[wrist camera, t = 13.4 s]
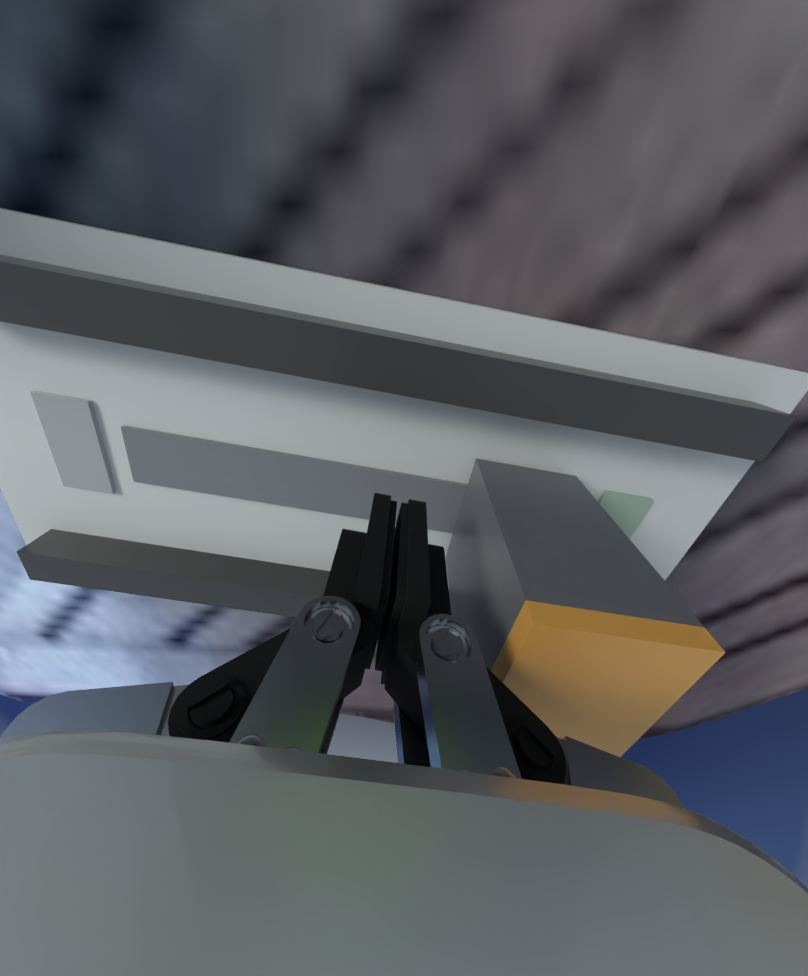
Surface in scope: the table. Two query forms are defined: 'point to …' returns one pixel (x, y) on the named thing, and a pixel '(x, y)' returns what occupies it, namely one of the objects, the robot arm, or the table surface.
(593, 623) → the block
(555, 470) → the breaker panel
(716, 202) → the table surface
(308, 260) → the table surface
